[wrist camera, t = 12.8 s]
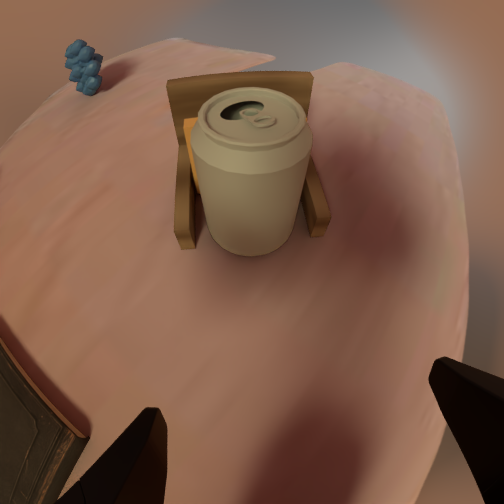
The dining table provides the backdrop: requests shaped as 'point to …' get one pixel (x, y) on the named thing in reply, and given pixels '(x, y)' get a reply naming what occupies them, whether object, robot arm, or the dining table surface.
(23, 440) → the hardcover book
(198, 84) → the brown wooden crate
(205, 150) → the can
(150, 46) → the dining table surface
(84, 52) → the grapes
